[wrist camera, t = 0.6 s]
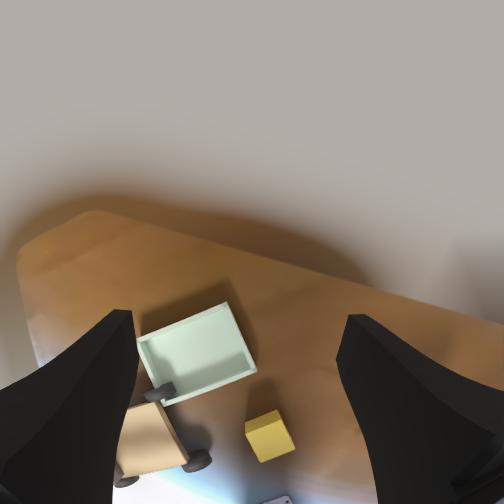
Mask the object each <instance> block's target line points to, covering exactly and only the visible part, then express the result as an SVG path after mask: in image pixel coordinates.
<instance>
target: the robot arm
mask: <svg viewBox="0 0 504 504" xmlns="http://www.w3.org/2000/svg"><path fill="white" fill-rule="evenodd" d="M336 362H337V366H338V370H339V374H340V378H341V382H342V385H343V387H344V390H345V392H346V395H347V397H348V399H349V402H350V404H351V407H352V409H353V411H354V414H355V416H356V419H357V421H358V423H359V426H360V428H361V431H362V433H363V436H364V439H365V442H366V446H367V449H368V453H369V457H370V461H371V465H372V470H373V475H374V480H375V485H376V491H377V498H378V504H504V391H501V390H498V389H494V388H491V387H488V386H485V385H483V384H480V383H478V382H475V381H473V380H470V379H468V378H466V377H463V376H461V375H459V374H457V373H455V372H453V371H451V370H449V369H447V368H446V367H444V366H442V365H440V364H438V363H437V362H435V361H433V360H432V359H430V358H428V357H427V356H425V355H424V354H422V353H420V352H419V351H417V350H416V349H415V348H413V347H412V346H410V345H409V344H407V343H406V342H404V341H403V340H402V339H400V338H399V337H397V336H396V335H395V334H393V333H392V332H390V331H389V330H388V329H386V328H385V327H383V326H382V325H381V324H379V323H378V322H376V321H375V320H373V319H372V318H370V317H369V316H367V315H365V314H351V315H348V319H347V323H346V326H345V330H344V334H343V337H342V341H341V344H340V347H339V351H338V354H337V357H336ZM138 364H139V353H138V347H137V341H136V335H135V329H134V323H133V316H132V311H131V310H118V309H114V310H113V311H112V312H110V313H109V314H108V315H107V316H105V317H104V318H103V319H102V320H101V321H100V322H98V323H97V324H96V325H95V326H94V327H93V328H92V329H90V330H89V331H88V332H87V333H86V334H84V335H83V336H82V337H81V338H80V339H79V340H77V341H76V342H75V343H74V344H72V345H71V346H70V347H68V348H67V349H66V350H65V351H63V352H62V353H61V354H59V355H58V356H57V357H56V358H54V359H53V360H51V361H50V362H49V363H47V364H46V365H44V366H43V367H41V368H39V369H38V370H37V371H35V372H33V373H32V374H30V375H28V376H27V377H25V378H23V379H21V380H19V381H17V382H15V383H13V384H11V385H9V386H7V387H6V388H4V389H2V390H0V504H112V495H113V481H114V470H115V462H116V454H117V447H118V442H119V438H120V434H121V430H122V426H123V423H124V419H125V416H126V413H127V409H128V406H129V402H130V399H131V396H132V392H133V389H134V385H135V381H136V376H137V370H138ZM285 501H288V502H285ZM262 504H293V503H292V501H291V500H290V498H289V496H282V497H280V498H277V499H274V500H271V501H268V502H265V503H262Z"/></svg>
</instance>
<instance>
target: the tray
mask: <svg viewBox="0 0 504 504" xmlns="http://www.w3.org/2000/svg"><path fill="white" fill-rule="evenodd" d="M136 341H137V347H138V352H139V354H140V356H141V359H142V361H143V363H144V366H145V368H146V370H147V373H148V375H149V377H150V379H151V381H152V384H153V386H154V388H155V389H156V388H159V387H160V386H161V385H163V384H165V383H168V382H171V381H172V382H173V385H174V387H175V389H176V391H177V392H176V393H174V394H173V395H171V396H169V397H167V398H164V399H162V400H160V401H161V403H162V405H163V407H165V406H168V405H171V404H174V403H177V402H179V401H182V400H185V399H188V398H191V397H194V396H196V395H199V394H202V393H205V392H207V391H210V390H213V389H215V388H218V387H220V386H223V385H225V384H228V383H231V382H233V381H236V380H238V379H240V378H243V377H245V376H248V375H250V374H252V373H255V372H257V367H256V365H255V363H254V361H253V358H252V356H251V354H250V352H249V350H248V347H247V345H246V343H245V341H244V339H243V336H242V334H241V332H240V330H239V327H238V325H237V323H236V321H235V318H234V316H233V314H232V311H231V309H230V307H229V305H228V303H227V302H224V303H222V304H220V305H217V306H215V307H213V308H210V309H208V310H205V311H203V312H201V313H198V314H196V315H193V316H191V317H189V318H186V319H184V320H181V321H179V322H177V323H174V324H172V325H169V326H167V327H164V328H162V329H159V330H157V331H154V332H152V333H149V334H147V335H144V336H142V337H139V338H137V339H136Z"/></svg>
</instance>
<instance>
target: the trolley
mask: <svg viewBox="0 0 504 504" xmlns="http://www.w3.org/2000/svg"><path fill="white" fill-rule="evenodd" d="M176 392H177V391H176V389H175V387H174V385H173V382H172V381H171V382H168V383H165V384H163V385H161V386H160V387H159V388H156V389H155V388H154V387H153V388H151V389H148V390H146V391H144V392H143V394H144V397H145V399H146V401H147V402H145V403H142V404H139V405H136V406H133V407H130V408H128V409H127V413H126V416H125V419H124V423H123V426H122V430H121V434H120V438H119V442H118V447H117V454H116V462H115V470H114V481H113V485H114V486H115V487H117V488H122V487H127V486H129V485H132V484H133V483H135V482H136V481H137V480H138V479H139V475H142V474H147V473H151V472H156V471H160V470H164V469H168V468H172V467H176V466H180V465H181V466H182V468H183V470H184V471H185V472H188V473H191V472H196V471H199V470H201V469H203V468H205V467H207V466H208V465H209V464H210V463H211V462H212V458H211V456H210V455H209V453H208V451H207V450H204V449H202V450H197V451H194V452H191V453H189V454H187V453H186V451H185V449H184V447H183V446H182V444H181V442H180V440H179V438H178V436H177V435H176V433H175V431H174V429H173V427H172V425H171V423H170V421H169V419H168V417H167V415H166V413H165V411H164V409H163V407H162V405H161V403H160V401H159V400H162V399H164V398H167V397H169V396H171V395H173V394H174V393H176Z"/></svg>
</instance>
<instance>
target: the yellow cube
mask: <svg viewBox="0 0 504 504" xmlns="http://www.w3.org/2000/svg"><path fill="white" fill-rule="evenodd" d="M245 435H246V437H247V439H248V441H249V442H250V444H251V446H252V448H253V450H254V452H255V454H256V455H257V457H258V459H259V461H260V463H262V462H265V461H267V460H270V459H273V458H275V457H278V456H280V455H283V454H285V453H287V452H290V451H292V450H295V446H294V444H293V441H292V439H291V436H290V434H289V432H288V430H287V428H286V426H285V424H284V422H283V420H282V418H281V416H280V414H279V412H278V410H274V411H272V412H270V413H267V414H265V415H262V416H260V417H257V418H255V419H252V420H250V421H247V422H245Z"/></svg>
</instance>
